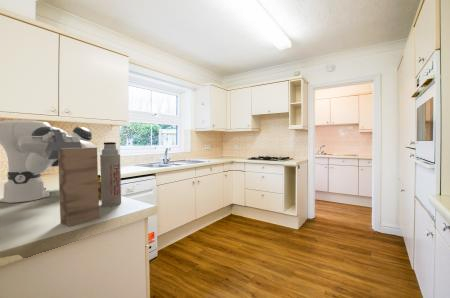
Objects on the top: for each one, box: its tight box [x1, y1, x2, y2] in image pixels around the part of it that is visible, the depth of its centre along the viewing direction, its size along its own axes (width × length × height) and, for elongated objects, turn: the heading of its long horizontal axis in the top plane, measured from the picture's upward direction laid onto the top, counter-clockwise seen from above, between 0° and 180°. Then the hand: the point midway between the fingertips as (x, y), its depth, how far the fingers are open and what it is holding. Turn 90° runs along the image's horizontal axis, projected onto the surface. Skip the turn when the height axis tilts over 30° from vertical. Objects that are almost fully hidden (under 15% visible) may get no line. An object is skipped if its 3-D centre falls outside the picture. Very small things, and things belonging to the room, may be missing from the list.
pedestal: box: [58, 147, 100, 227], centre depth 79 cm, size 6×10×26 cm, turn 147°
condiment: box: [98, 174, 101, 201], centre depth 107 cm, size 7×8×12 cm
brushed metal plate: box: [45, 129, 82, 159], centre depth 85 cm, size 13×10×5 cm
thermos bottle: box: [99, 141, 122, 207], centre depth 100 cm, size 8×8×28 cm
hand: (58, 133), depth 86 cm, fingers closed on brushed metal plate, 2 cm apart
